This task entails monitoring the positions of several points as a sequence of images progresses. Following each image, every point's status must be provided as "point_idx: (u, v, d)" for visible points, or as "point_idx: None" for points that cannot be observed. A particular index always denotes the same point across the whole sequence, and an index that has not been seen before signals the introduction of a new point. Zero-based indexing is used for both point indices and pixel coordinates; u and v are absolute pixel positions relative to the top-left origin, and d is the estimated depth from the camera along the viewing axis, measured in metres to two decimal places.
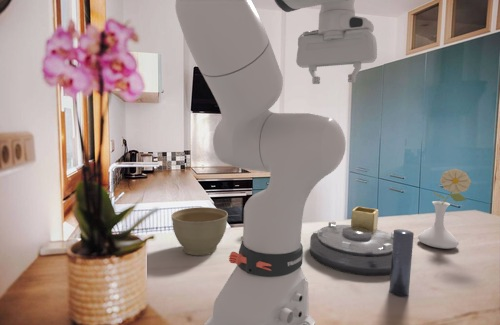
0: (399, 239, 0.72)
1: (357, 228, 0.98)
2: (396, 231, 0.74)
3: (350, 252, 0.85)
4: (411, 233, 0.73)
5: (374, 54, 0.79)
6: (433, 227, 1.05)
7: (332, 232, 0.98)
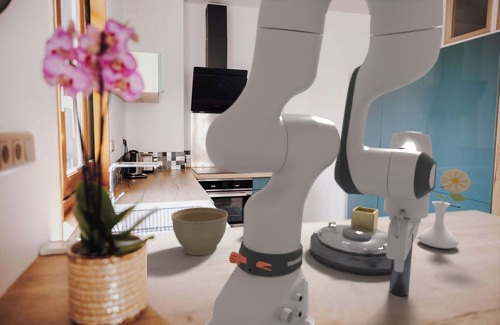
0: None
1: (357, 228, 0.98)
2: None
3: (350, 252, 0.85)
4: None
5: None
6: (433, 227, 1.05)
7: (332, 232, 0.98)
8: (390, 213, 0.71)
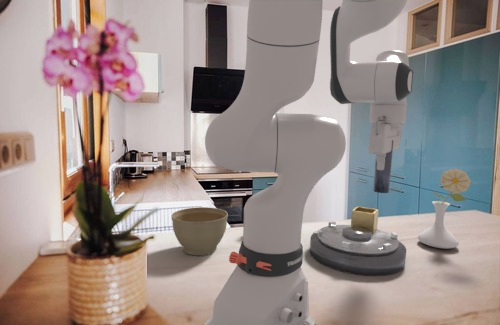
0: None
1: (357, 228, 0.98)
2: None
3: (350, 252, 0.85)
4: None
5: None
6: (433, 227, 1.05)
7: (332, 232, 0.98)
8: (373, 121, 0.86)
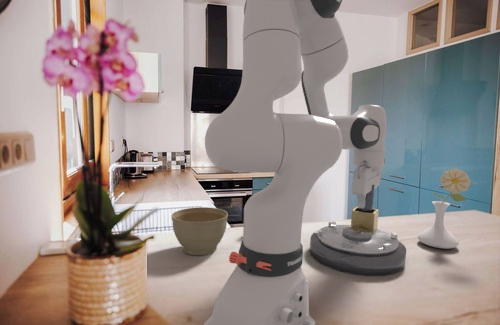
0: None
1: (357, 228, 0.98)
2: None
3: (350, 252, 0.85)
4: None
5: None
6: (433, 227, 1.05)
7: (332, 232, 0.98)
8: (356, 164, 0.98)
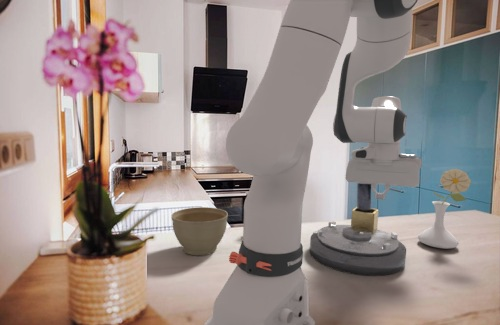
0: (360, 188, 1.00)
1: (357, 228, 0.98)
2: (359, 183, 1.01)
3: (350, 252, 0.85)
4: (369, 184, 1.00)
5: None
6: (433, 227, 1.05)
7: (332, 232, 0.98)
8: (396, 158, 0.94)
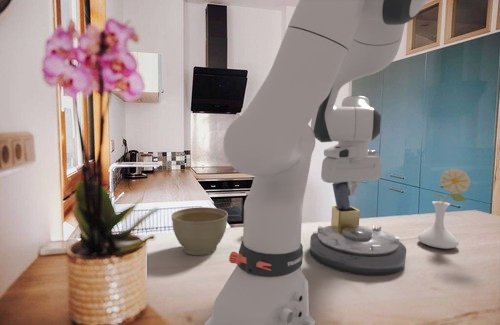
0: (340, 188, 0.99)
1: (350, 228, 0.98)
2: (335, 184, 1.00)
3: (381, 254, 0.85)
4: None
5: (321, 177, 0.99)
6: (433, 227, 1.05)
7: (335, 237, 0.93)
8: None
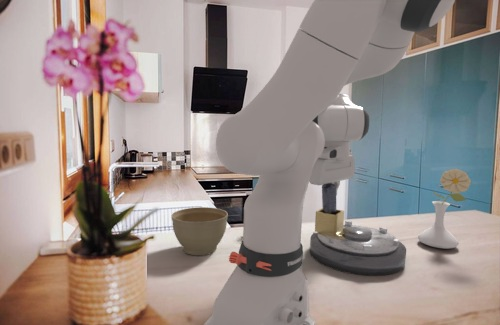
0: (334, 191, 0.95)
1: (347, 229, 0.96)
2: (328, 188, 0.94)
3: None
4: (330, 183, 0.97)
5: (309, 179, 0.94)
6: (433, 227, 1.05)
7: (352, 243, 0.89)
8: None
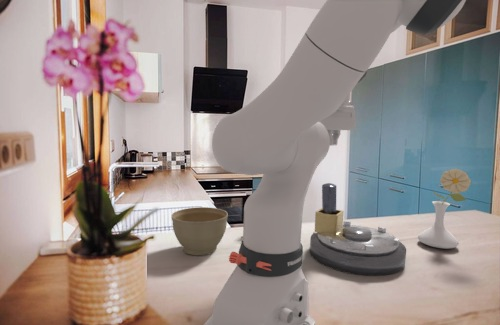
0: (335, 191, 0.95)
1: (347, 230, 0.96)
2: (328, 188, 0.94)
3: None
4: (330, 184, 0.97)
5: None
6: (433, 227, 1.05)
7: (353, 243, 0.89)
8: None
